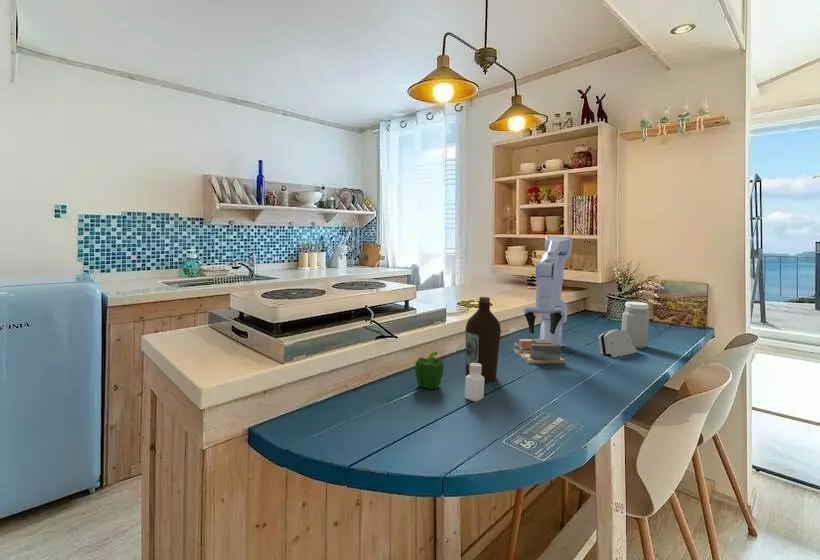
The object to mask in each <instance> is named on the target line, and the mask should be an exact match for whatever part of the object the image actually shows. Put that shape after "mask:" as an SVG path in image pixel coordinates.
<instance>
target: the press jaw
mask: <svg viewBox="0 0 820 560" xmlns="http://www.w3.org/2000/svg"><path fill="white" fill-rule="evenodd" d="M532 339H533V338H531V339H529V338H528V339H526V338H523V339H521V338H520V339H518V345H520V346H521V347H522V348H523V349H531V344H532Z"/></svg>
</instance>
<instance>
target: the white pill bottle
mask: <svg viewBox="0 0 820 560" xmlns="http://www.w3.org/2000/svg"><path fill="white" fill-rule="evenodd" d="M469 368H470V369H469V371H470V374H469V375H467V376H466V375H465V380H464V381H465V383H464V398H465V399H467V400H470V401H472V402H479V401H480V400H483V398H484V395H485V382H484V379H485V378H484V377H483V376H481V371H482V370H481V369H482V365H481V364H479V363H470V367H469Z"/></svg>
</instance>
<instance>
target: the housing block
mask: <svg viewBox="0 0 820 560" xmlns="http://www.w3.org/2000/svg"><path fill="white" fill-rule="evenodd" d="M531 339H532V344H551V343H550V342H549V341H547V340H545V339H540V338H535V339H533V338H531Z"/></svg>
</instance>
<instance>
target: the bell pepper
mask: <svg viewBox="0 0 820 560" xmlns="http://www.w3.org/2000/svg"><path fill="white" fill-rule="evenodd" d="M436 355H438V351H432V352H431V353H430V354H429V355H428V356H429V357H426V358H424V357H418V358H417V360H416V362H415V364H414V374H415V378H416V382H417V384H418V385H419V387H420V388H425V389H428V390H435V389H438V387H439V386H440V384H441V381H442V379H443V378H442V377H443V374H444V363H443V361H442V360H443V359H442V358H436V357H434V356H436Z"/></svg>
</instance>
